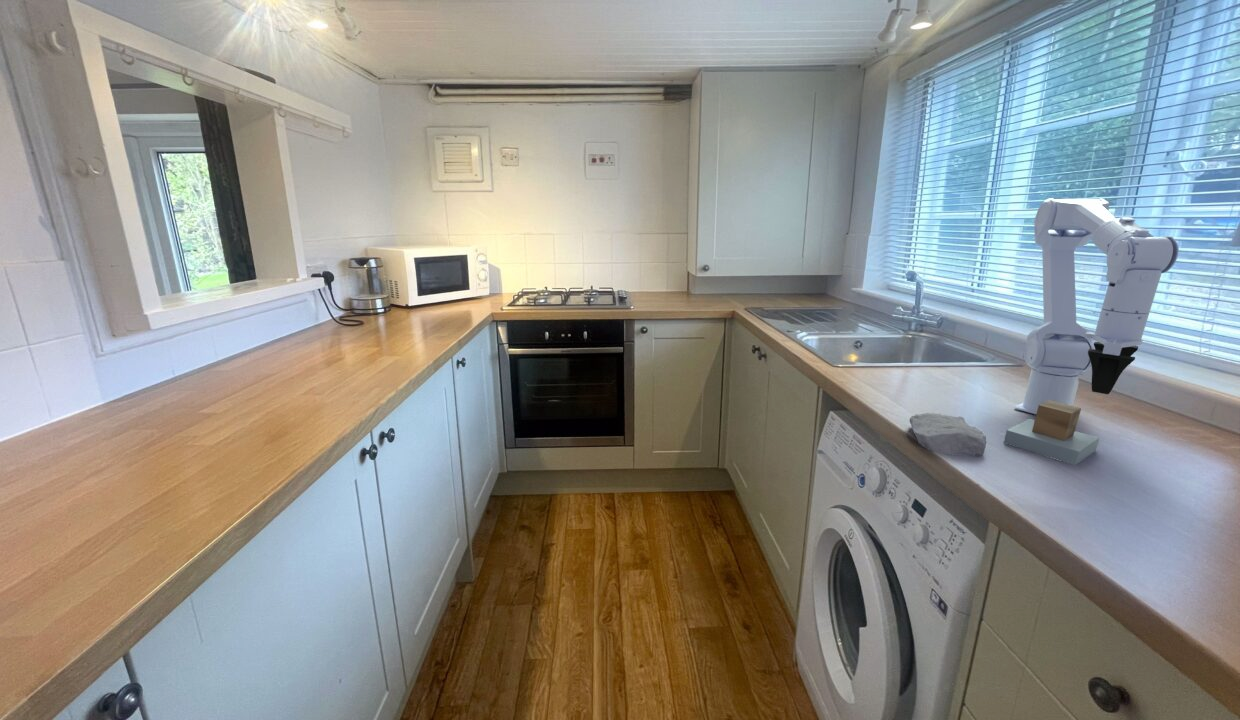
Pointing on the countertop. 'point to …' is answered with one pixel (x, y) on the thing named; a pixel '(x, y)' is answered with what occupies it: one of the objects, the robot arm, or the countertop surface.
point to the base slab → (1052, 443)
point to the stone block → (948, 434)
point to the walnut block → (1056, 420)
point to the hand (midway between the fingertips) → (1102, 387)
